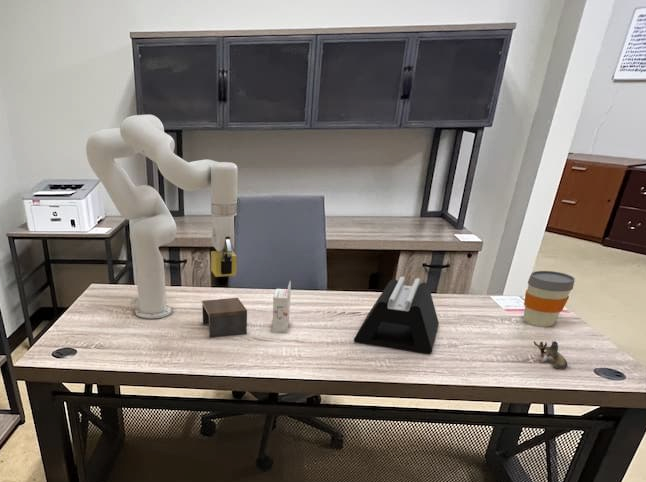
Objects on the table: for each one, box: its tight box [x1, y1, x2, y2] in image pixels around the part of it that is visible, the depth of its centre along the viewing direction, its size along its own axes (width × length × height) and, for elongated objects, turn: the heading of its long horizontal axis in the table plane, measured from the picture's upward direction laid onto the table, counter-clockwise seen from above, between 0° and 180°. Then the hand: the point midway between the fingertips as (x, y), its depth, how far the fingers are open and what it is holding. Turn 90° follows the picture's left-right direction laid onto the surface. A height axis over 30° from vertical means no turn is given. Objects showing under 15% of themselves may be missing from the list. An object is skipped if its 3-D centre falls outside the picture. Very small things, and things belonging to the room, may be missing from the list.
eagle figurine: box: [533, 339, 568, 370], centre depth 147 cm, size 8×7×9 cm
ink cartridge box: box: [271, 280, 292, 333], centre depth 169 cm, size 9×5×15 cm, turn 168°
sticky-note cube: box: [210, 250, 238, 278], centre depth 162 cm, size 6×6×6 cm
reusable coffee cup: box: [523, 270, 576, 328], centre depth 170 cm, size 13×13×15 cm
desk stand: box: [201, 297, 248, 339], centre depth 171 cm, size 12×12×8 cm
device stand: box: [353, 276, 440, 355], centre depth 163 cm, size 22×22×15 cm
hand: (223, 269), depth 163 cm, fingers closed on sticky-note cube, 6 cm apart
